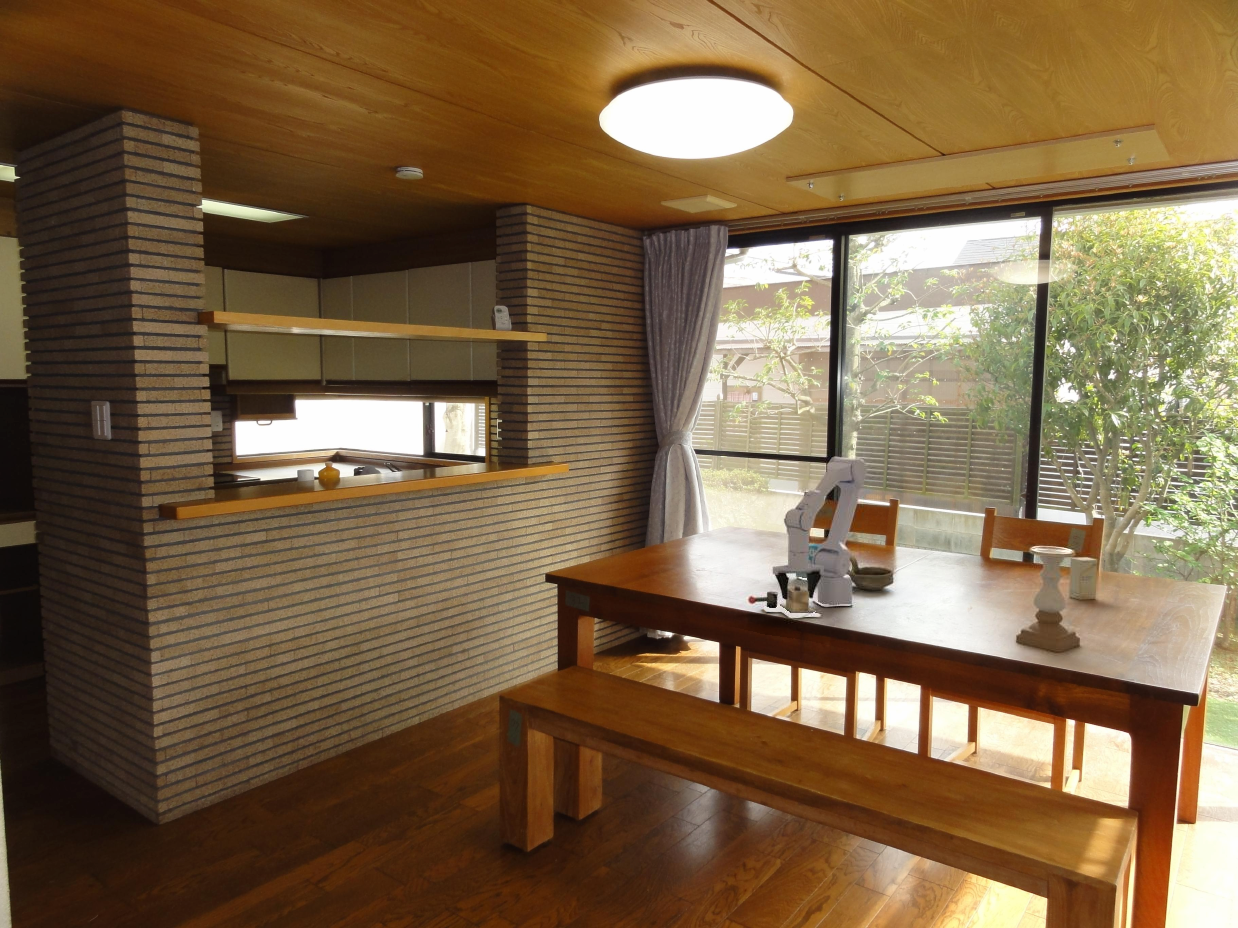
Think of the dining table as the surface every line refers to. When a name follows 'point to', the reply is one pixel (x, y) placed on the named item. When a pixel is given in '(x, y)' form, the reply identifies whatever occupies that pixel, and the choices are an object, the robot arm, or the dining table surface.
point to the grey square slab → (798, 610)
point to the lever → (766, 599)
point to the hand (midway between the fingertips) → (797, 598)
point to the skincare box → (1083, 578)
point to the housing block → (797, 598)
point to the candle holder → (1049, 605)
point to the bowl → (870, 576)
